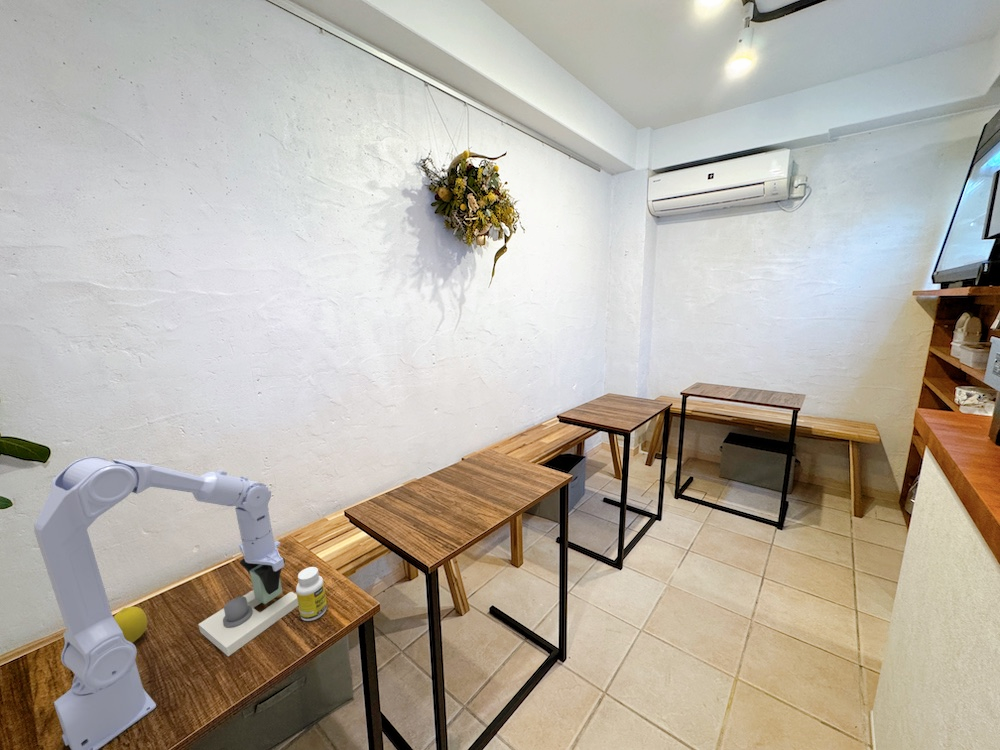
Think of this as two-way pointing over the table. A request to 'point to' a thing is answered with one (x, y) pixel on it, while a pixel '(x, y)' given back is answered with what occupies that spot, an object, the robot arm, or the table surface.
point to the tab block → (262, 588)
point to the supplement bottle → (311, 594)
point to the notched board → (243, 621)
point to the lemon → (131, 622)
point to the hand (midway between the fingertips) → (267, 587)
